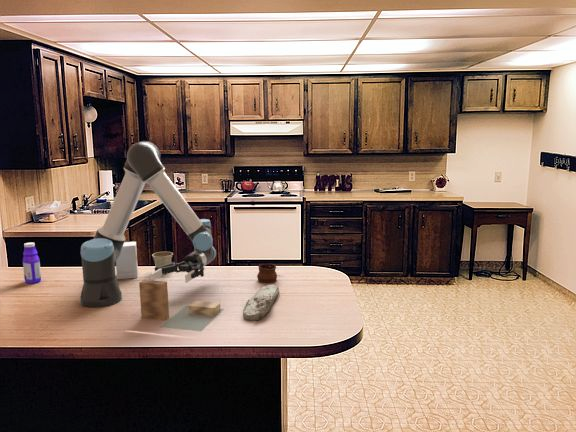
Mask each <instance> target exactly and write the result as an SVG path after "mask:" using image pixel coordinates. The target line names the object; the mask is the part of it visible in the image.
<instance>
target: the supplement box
mask: <svg viewBox="0 0 576 432" xmlns="http://www.w3.org/2000/svg"><path fill="white" fill-rule="evenodd" d="M137 252H138V249H137V241H125V242H124V244H123V247H122V249H121V253H120V256H119V257H118V258H117V260H116V261H115V272H116V280H122V279H136V278H138V276H139V270H138V253H137Z"/></svg>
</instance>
